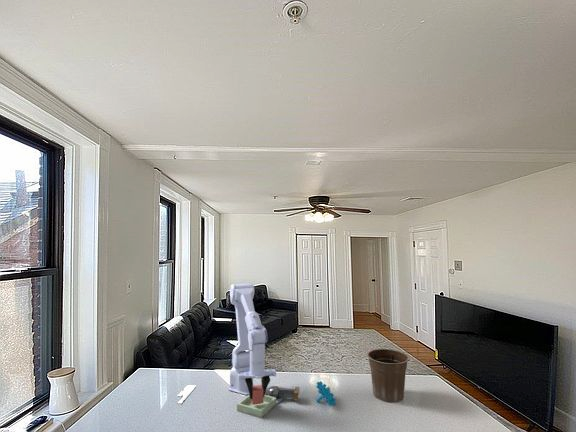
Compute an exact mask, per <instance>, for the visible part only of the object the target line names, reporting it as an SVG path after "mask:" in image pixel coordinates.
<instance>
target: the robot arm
mask: <svg viewBox="0 0 576 432" xmlns="http://www.w3.org/2000/svg"><path fill="white" fill-rule="evenodd" d="M229 296H230V304H231V305H233V306H234V309H235V318H236V329H237V330H236V332H237V345H236V346H235V347H234V348H233V350H232V353H231V354H232V355H231V357H232V358H231V361H232V362H231V363H232V368H230V369H231V370H230V373H229V388H228V391H231V392H235V393H238V394H242V395H244V396H245V395H246V396H248V395H249V396H250V399H252V397H253V395H252V388H253V386H256V385H254V379H259V380H260V379H261V382H260V383H261V386H262V388H263V397H264V396H265V395H266V392H267V389H268V386H269V384H270V382H271V378H270V377H277V371H276V369H274V368H273V369H266V367H265V366H266V365H265V364H266V359H265V358H266V356H265V355H266V344H267V342H268V332H267V329H266V327H265V325H262V322H261V318H260V314H259V313H258V312H256V311H255V306H254V301H253V299H254V296H255V285H254V284H253V283H252V282H251V283H239V284H238V283H237V284H236V283H234V284H233V283H232V284H231V285H230V288H229Z"/></svg>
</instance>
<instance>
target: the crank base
mask: <svg viewBox="0 0 576 432" xmlns="http://www.w3.org/2000/svg"><path fill="white" fill-rule="evenodd" d="M267 396H269V393H268V394H267ZM282 400H284V398H279V399H276V405H278V404H279V403H280V402H281V401H282Z"/></svg>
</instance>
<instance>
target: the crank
mask: <svg viewBox="0 0 576 432" xmlns="http://www.w3.org/2000/svg"><path fill="white" fill-rule="evenodd" d="M268 394H269V396H271V397H275V398H276V399H279V398H283V399H293V401H295V402H298V401H299V398H300V387H299V386H294V388H287V387H279V386H277V385H273V386H272V385H271V386H269V387H268Z"/></svg>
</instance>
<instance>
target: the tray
mask: <svg viewBox="0 0 576 432" xmlns="http://www.w3.org/2000/svg"><path fill="white" fill-rule="evenodd" d="M267 395H268V394H267ZM267 395H266V394H265V396H264V397H263V403H261V404H255V405H253V404H252V401H251V399H250V396H249V394H248V395H246V396H245V397H244V398H242V400H240V401H239V402H238V403H236V411H237V412H240V413H243V414H246V415H250V416H253V417H256V418H260V419H262V418H264V417H265V416H266V415H267V414H268V413H269V412H270V411H271V410H272V409H273V408H275V406H277V404H276V398H275V397H271V396H267Z"/></svg>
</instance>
